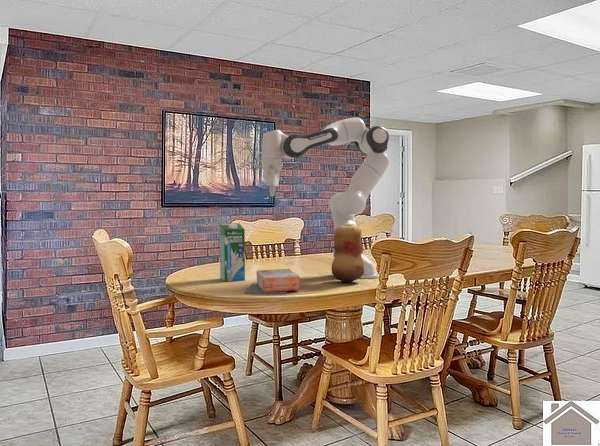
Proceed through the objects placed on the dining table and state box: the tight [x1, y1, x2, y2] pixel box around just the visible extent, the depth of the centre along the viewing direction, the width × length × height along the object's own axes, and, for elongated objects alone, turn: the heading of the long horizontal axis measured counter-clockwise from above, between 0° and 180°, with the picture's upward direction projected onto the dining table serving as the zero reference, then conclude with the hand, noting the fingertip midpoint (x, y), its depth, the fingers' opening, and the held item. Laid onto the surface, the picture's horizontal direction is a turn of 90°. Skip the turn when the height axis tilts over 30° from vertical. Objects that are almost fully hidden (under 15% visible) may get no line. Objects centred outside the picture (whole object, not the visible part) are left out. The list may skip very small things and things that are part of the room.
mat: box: [243, 282, 288, 295], centre depth 198 cm, size 16×21×1 cm
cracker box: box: [256, 268, 301, 292], centre depth 199 cm, size 14×6×21 cm
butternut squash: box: [331, 224, 364, 283], centre depth 212 cm, size 14×13×25 cm
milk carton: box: [219, 222, 246, 282], centre depth 220 cm, size 9×9×25 cm
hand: (272, 196), depth 226 cm, fingers closed
